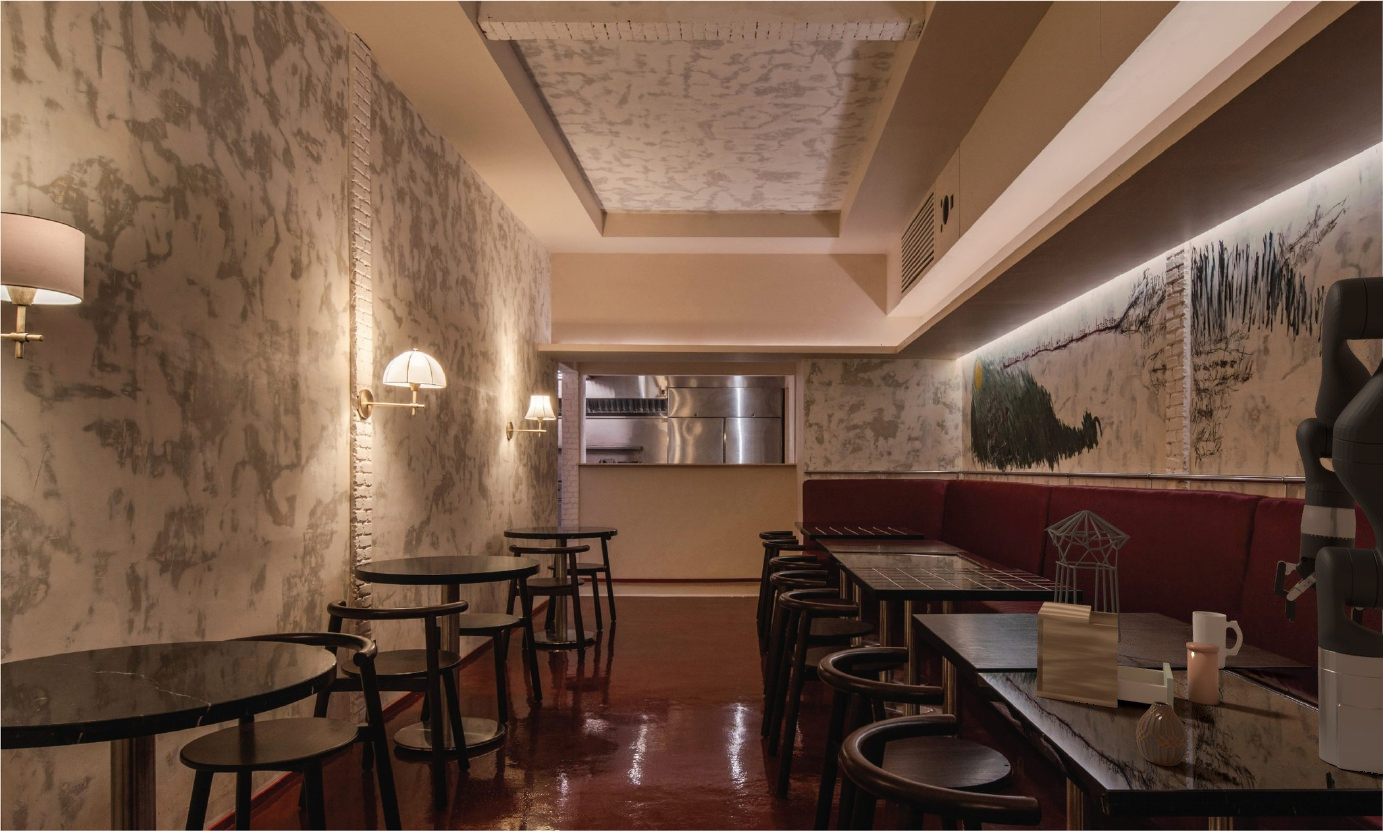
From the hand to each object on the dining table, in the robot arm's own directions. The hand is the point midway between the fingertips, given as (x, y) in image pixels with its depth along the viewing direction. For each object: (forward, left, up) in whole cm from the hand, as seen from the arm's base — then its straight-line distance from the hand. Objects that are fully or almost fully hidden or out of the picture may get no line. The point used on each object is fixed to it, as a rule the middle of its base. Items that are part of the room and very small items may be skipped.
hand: (1322, 626), depth 146 cm
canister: (+14, +17, -19) cm, 29 cm away
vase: (-32, +26, -19) cm, 45 cm away
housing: (+7, +39, -19) cm, 43 cm away
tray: (+7, +29, -18) cm, 35 cm away
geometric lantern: (+46, +39, -19) cm, 63 cm away
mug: (+53, +11, -19) cm, 58 cm away
